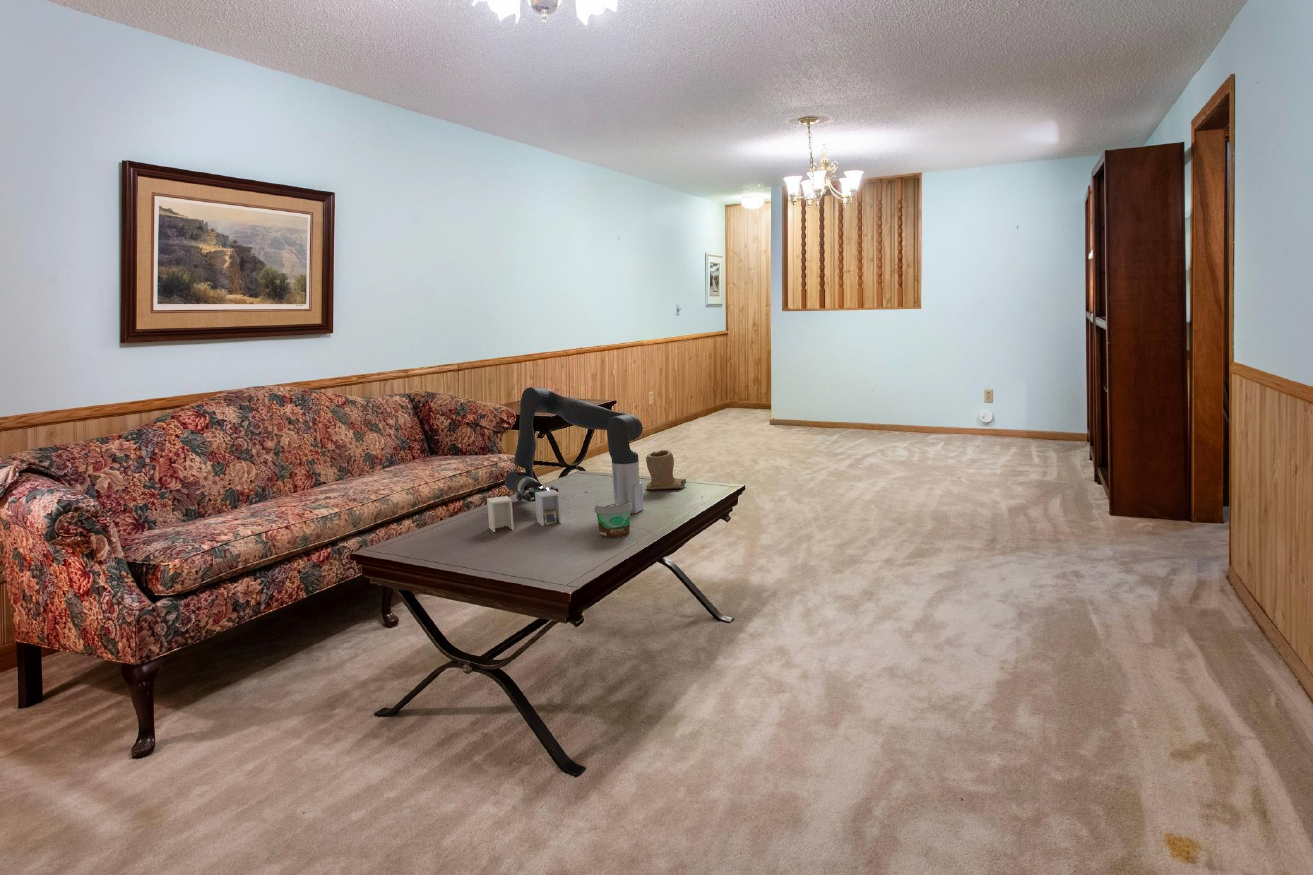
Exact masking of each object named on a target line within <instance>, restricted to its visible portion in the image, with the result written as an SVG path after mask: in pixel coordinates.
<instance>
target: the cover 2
mask: <svg viewBox="0 0 1313 875" xmlns="http://www.w3.org/2000/svg"><path fill="white" fill-rule="evenodd" d="M535 500H536V501H535V512H536V513H535V514H536V522H537V523H538V524H539V525H541V526H543V527H544V526H545V524H544V518H543V510H549V509H553V510H555V511H556V519H557V522H558V523H559V524H562V522H563V520H562V509H561V508H562V507H561V494H560V492H559V491H558V492H557V491H555V490H550V491H542V492H535Z"/></svg>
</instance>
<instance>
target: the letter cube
mask: <svg viewBox="0 0 1313 875" xmlns="http://www.w3.org/2000/svg"><path fill="white" fill-rule="evenodd" d="M543 518H544V525H545V524H546V525H552V524H557V519H556V511H555V510H553V509H549V510H543Z"/></svg>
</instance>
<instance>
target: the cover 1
mask: <svg viewBox="0 0 1313 875" xmlns="http://www.w3.org/2000/svg"><path fill="white" fill-rule="evenodd" d="M512 501H513V500H512V498H510V497H509V496H508V495H504V496H498V497H497V496H495V497H488V498H486V502H487V515H488V527H489V528H490V529H491V530H492V531H493V532H495V533H496V529H499V528H504V526H506V527H508V528H509V529H510V530H511V529H512V530H511V531H514V530H515V528H514V516H513V515H514V514H513V502H512ZM490 529H489V530H490ZM513 529H514V530H513ZM491 530H490V531H491ZM492 531H491V532H492ZM493 532H492V533H493Z"/></svg>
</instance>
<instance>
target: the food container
mask: <svg viewBox="0 0 1313 875" xmlns="http://www.w3.org/2000/svg"><path fill="white" fill-rule="evenodd" d="M631 509H632V504H631V502H630V500H628V503H624V504H614V503H612V504H609V505H606V506H602V505H595V507H594V513H596V517H597V524H598V532H599V537H600V536H602V537H601V538H604V537H605V539H619V538H618V537H620V538H624V537H623V536H625V537H627V536H629V535H630V528H631V527H630V524H631V513H630V510H631Z"/></svg>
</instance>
